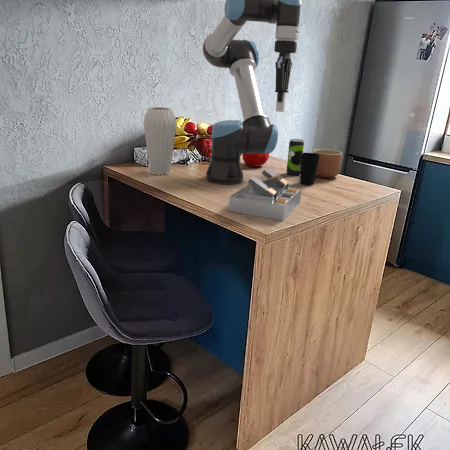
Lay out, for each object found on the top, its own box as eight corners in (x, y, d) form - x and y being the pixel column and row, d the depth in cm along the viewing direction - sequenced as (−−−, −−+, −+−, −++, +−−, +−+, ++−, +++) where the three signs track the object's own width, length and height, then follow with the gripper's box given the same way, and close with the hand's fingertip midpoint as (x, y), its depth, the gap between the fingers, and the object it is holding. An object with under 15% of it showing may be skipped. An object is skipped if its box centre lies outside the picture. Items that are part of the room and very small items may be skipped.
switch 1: (254, 190, 151) (252, 185, 151) (258, 187, 155) (256, 182, 154) (278, 181, 147) (276, 175, 147) (281, 179, 150) (279, 173, 150)
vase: (154, 168, 198) (153, 105, 189) (181, 172, 194) (182, 108, 185) (137, 174, 187) (136, 108, 178) (166, 178, 182) (167, 111, 173)
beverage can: (296, 172, 204) (300, 138, 199) (303, 175, 199) (306, 141, 194) (283, 172, 202) (287, 138, 197) (290, 176, 197) (293, 141, 192)
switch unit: (228, 211, 147) (230, 192, 145) (251, 195, 166) (252, 177, 164) (282, 221, 141) (284, 200, 139) (300, 202, 160) (302, 184, 158)
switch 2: (247, 182, 144) (250, 177, 143) (251, 180, 147) (254, 175, 146) (270, 199, 143) (273, 194, 142) (273, 196, 146) (277, 191, 145)
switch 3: (261, 173, 156) (264, 169, 155) (264, 171, 159) (267, 167, 158) (282, 188, 155) (285, 184, 154) (285, 186, 158) (288, 182, 157)
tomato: (243, 162, 220) (244, 139, 216) (268, 164, 218) (270, 141, 215) (240, 168, 207) (241, 144, 204) (267, 170, 206) (269, 146, 202)
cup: (316, 187, 182) (319, 157, 178) (297, 185, 183) (300, 155, 179) (316, 182, 189) (320, 153, 185) (297, 180, 190) (301, 152, 186)
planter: (307, 177, 196) (310, 152, 192) (313, 171, 207) (316, 147, 203) (337, 181, 192) (340, 155, 188) (341, 175, 203) (344, 151, 199)
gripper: (291, 39, 148) (285, 114, 156) (301, 41, 160) (294, 110, 168) (269, 38, 151) (264, 112, 159) (280, 41, 162) (275, 109, 170)
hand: (279, 111), depth 163 cm, fingers closed
